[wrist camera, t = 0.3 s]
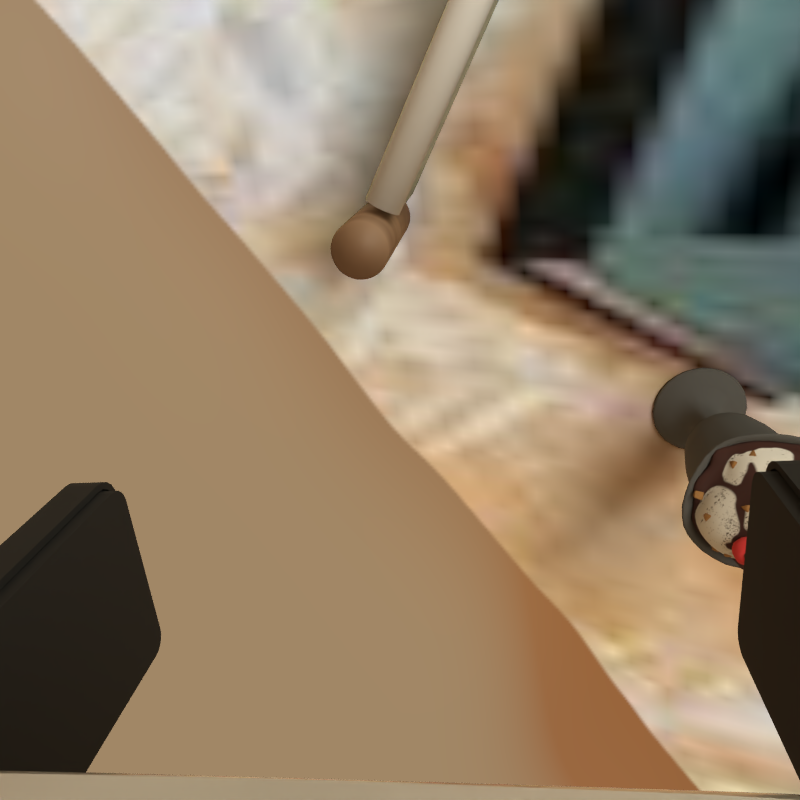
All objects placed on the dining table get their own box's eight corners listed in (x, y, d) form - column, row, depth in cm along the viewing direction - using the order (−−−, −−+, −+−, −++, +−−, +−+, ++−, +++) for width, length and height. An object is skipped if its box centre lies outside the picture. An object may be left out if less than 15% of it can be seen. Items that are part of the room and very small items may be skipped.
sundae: (624, 454, 41) (693, 632, 28) (653, 345, 39) (746, 481, 25) (740, 471, 41) (869, 660, 27) (778, 362, 38) (941, 510, 25)
